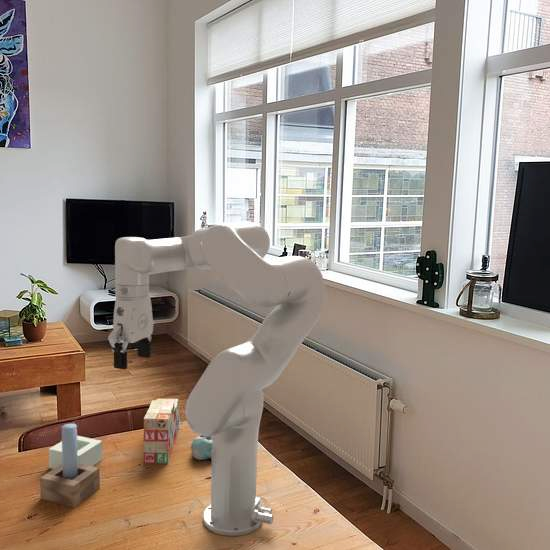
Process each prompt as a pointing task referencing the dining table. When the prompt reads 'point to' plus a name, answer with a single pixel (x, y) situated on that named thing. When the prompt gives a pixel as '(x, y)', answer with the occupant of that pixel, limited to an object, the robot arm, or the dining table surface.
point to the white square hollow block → (78, 452)
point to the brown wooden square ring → (70, 485)
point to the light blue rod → (69, 451)
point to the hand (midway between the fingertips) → (132, 362)
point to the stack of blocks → (160, 430)
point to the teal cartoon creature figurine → (202, 447)
